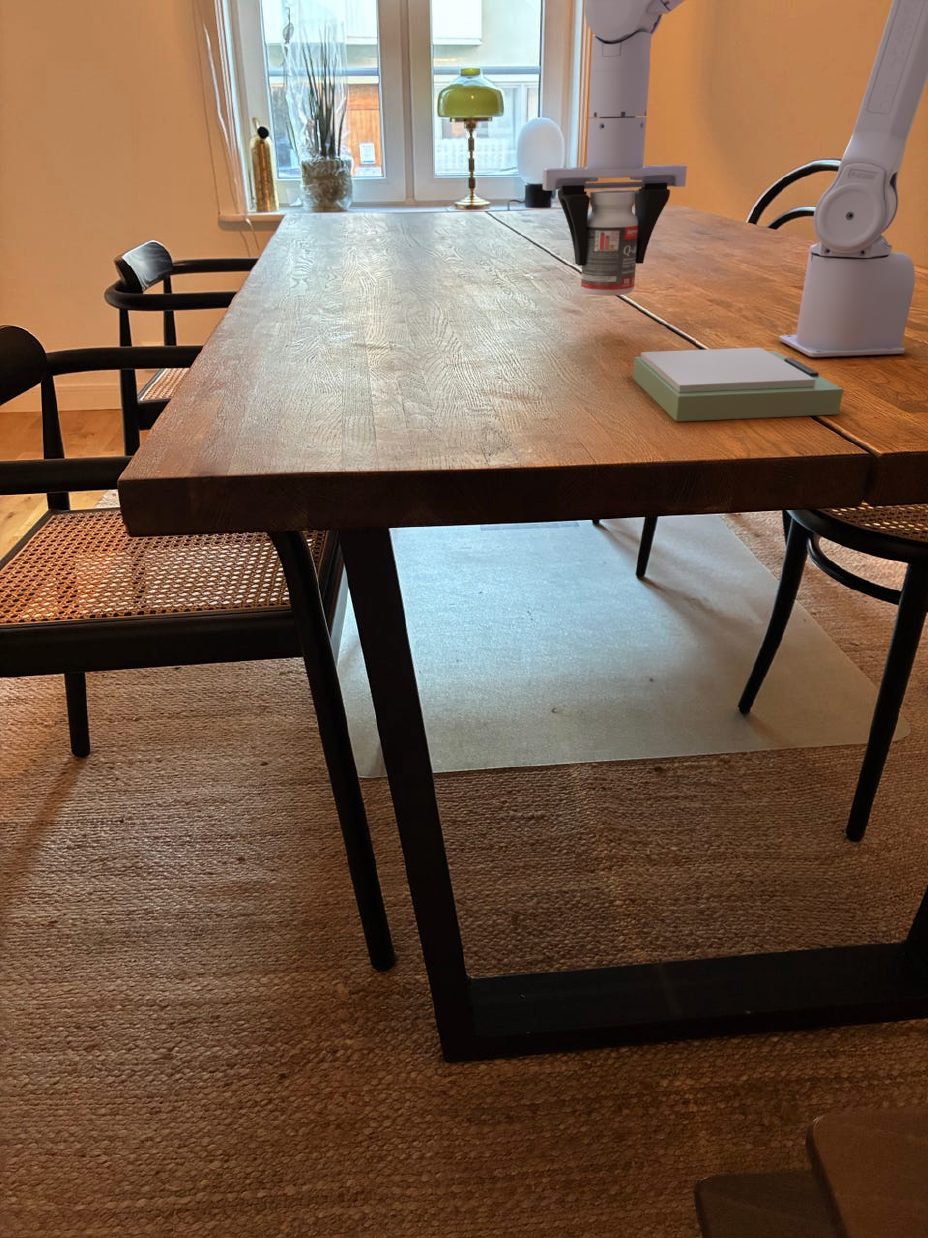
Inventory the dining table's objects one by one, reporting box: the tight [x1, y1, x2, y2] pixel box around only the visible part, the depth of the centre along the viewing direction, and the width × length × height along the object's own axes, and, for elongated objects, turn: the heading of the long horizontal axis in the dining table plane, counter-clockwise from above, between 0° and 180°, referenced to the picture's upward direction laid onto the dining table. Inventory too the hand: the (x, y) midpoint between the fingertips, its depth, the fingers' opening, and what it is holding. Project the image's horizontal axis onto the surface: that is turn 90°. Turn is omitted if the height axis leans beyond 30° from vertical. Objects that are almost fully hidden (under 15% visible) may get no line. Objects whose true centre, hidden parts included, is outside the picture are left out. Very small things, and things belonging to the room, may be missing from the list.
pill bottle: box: [580, 189, 638, 297], centre depth 94 cm, size 6×6×10 cm
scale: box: [632, 347, 844, 423], centre depth 74 cm, size 13×13×3 cm
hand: (609, 263), depth 95 cm, fingers closed on pill bottle, 5 cm apart
